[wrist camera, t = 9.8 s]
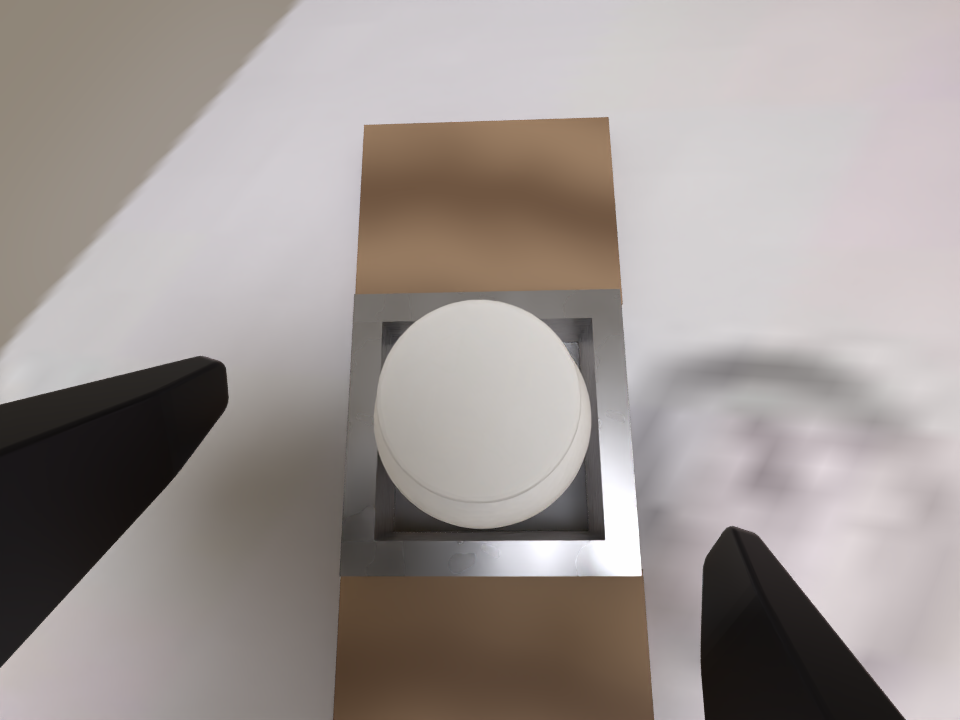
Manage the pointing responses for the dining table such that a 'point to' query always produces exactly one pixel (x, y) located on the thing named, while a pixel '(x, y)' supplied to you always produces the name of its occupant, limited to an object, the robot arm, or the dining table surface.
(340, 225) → the dining table surface
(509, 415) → the supplement bottle
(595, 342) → the grey square frame
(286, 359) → the dining table surface
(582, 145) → the brown flat rectangular board
